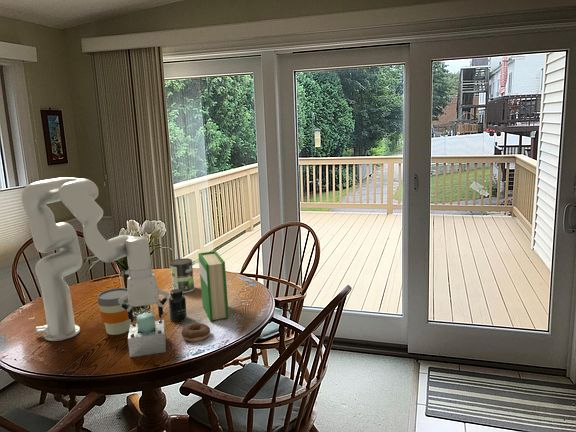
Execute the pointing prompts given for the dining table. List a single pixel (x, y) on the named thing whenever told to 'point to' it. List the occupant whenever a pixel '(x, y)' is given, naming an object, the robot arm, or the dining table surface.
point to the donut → (195, 332)
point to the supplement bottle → (177, 306)
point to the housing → (147, 340)
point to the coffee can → (182, 275)
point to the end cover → (146, 323)
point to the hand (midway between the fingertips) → (146, 318)
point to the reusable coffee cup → (114, 311)
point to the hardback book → (213, 285)
